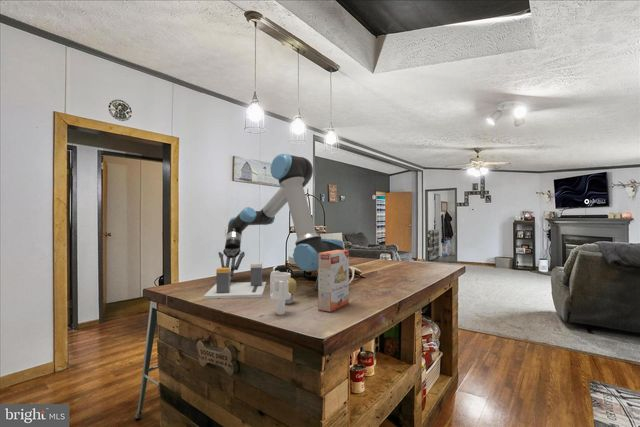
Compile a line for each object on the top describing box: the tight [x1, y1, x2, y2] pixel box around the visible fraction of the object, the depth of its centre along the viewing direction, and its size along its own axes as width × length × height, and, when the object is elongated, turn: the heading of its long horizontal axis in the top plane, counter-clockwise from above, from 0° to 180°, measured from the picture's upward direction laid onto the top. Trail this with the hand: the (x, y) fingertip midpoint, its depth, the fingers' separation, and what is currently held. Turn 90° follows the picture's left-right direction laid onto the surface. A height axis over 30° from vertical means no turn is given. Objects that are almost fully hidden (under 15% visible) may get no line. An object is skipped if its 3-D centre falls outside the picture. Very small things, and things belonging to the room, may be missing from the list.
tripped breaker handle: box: [215, 267, 231, 293], centre depth 144 cm, size 4×5×10 cm
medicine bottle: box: [269, 265, 288, 296], centre depth 146 cm, size 7×7×12 cm
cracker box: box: [317, 249, 350, 313], centre depth 124 cm, size 14×6×21 cm, turn 148°
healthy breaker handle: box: [250, 262, 263, 286], centre depth 157 cm, size 4×5×10 cm
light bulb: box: [285, 277, 297, 305], centre depth 130 cm, size 6×6×10 cm
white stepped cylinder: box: [269, 271, 292, 316], centre depth 116 cm, size 7×7×15 cm
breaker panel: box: [202, 281, 267, 300], centre depth 151 cm, size 26×24×1 cm
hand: (227, 281), depth 154 cm, fingers closed
